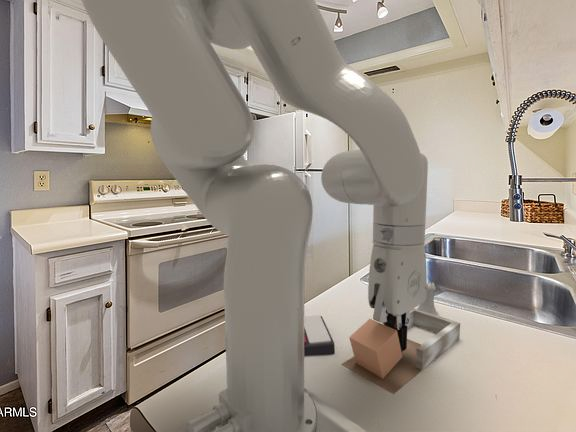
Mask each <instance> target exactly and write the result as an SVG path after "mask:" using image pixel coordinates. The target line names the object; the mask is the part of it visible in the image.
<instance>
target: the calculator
mask: <svg viewBox="0 0 576 432" xmlns="http://www.w3.org/2000/svg"><path fill="white" fill-rule="evenodd" d="M335 353H336V352H335V342H334V340H333V337H332V335H331V333H330V331H329V328H328V326H327V324H326V322H325V320H324V318H323V316H322V315H320V314H317V315H304V357H307V356H309V357H310V356H325V355H326V356H327V355H335Z"/></svg>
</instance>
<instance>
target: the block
mask: <svg viewBox="0 0 576 432" xmlns="http://www.w3.org/2000/svg"><path fill="white" fill-rule="evenodd" d="M348 338H349V342H350V346H351V349H352V353H353V357H355V361H356V363H357V364H359V365H361V366H362V367H364V368H366V369H367V370H369V371H371V372H372V373H374V374H376V375H377V376H379V377H381V378H382V379H383V378H384V377H385V376H386V375H387V374H388V372H389V371H390V370H391V369H392V368H393V367H394V366H395V365H396V363H397V362H398V361H399V360H400V359H401V358H402V352H401V347H400V343H399V338H398V333H397V330H395V329H392V328H390V327H388V326H386V325H383V323H381V322H378V321H376V320H374V319H373V318H368V320H366V321H365V322H364V323H363V324H362V325H361V326H360V327H359V328H357V330H356V331H354V332H353V334H351V335H350V336H349V337H348Z"/></svg>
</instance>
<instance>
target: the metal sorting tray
mask: <svg viewBox="0 0 576 432" xmlns="http://www.w3.org/2000/svg"><path fill="white" fill-rule="evenodd" d="M382 324H383V323H382ZM383 325H384V324H383ZM406 326H407V330H410V329H411V328H412V327H414V326H415V327H417V328H419V329H422V330H426V331H429V332H431V333H434V334H435V335H433V336H432V337H430V338H429V339H427V340H426V341H425V342H423V343H419V342H416V341H414V340H411V339H409V338H407V348H406V350H404V351H403V352H402V358H401V359H400V360H399V361H398V362H397V363H396V365H395V366H394V367H393V368H392V369H391V370H390V371H389V372H388V374H387V375H386V376H385V377H384V378H383V379H382V378H381V377H379V376H377V375H376V374H374V373H372V372H371V371H369V370H367V369H366V368H364V367H362V366H361V365H359V364H357V363H356V361H355V357H354V356H352V357H351V358H349V359H347V360H346V361H344V362H342V363H341V364H340V365H342V366H343V367H344V368H347V369H348V370H350V371H352V372H354V373H355V374H357V375H359V376H361V377H362V378H364V379H366V380H368V381H369V382H371V383H373V384H375V385H376V386H378V387H381V388H382V389H384V390H385V391H388V392H390V393H391V394H392V395H394V394H396V393H398V391H399V390H400V389H402V388H403V387H404V386H405V385H406V384H407V383H409V382H410V381H412V379H414V378H415V377H416V376H417V375H419V374H420V373H421V372H422V371H424V369H425V368H427V367H429V365H430V364H431V363H432V362H434V361H435V360H436V359H438V358H439V357H440V356H441V355H442V354H444V352H446V351H447V350H448V349H449V348H450V347H452V346H453V345H454V344H455V343H457V342H458V341H459V340H460V336H461V335H460V334H461V333H460V332H461V323H460V322H458V321H455V320H453V319H449V318H447V317H442V316H440V315H438V314H437V315H434V314H431V313H428V312H424V311H421V310H418V309H417V308H416V307H415V308H413V309H411V310H410V318H409V323H408V325H406Z"/></svg>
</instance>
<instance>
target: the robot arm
mask: <svg viewBox="0 0 576 432" xmlns="http://www.w3.org/2000/svg"><path fill="white" fill-rule="evenodd" d="M81 2H82V4H83V7H84V9H85V11H86V13H87V15H88V17H89V19H90V21H91V23H92V25H93V27H94V28H95V30H96V32H97V34H98V35H99V37H100V39H101V40H102V42H103V43H104V45H105V46H106V48H107V49H108V51H109V52H110V54H111V55H112V57H113V58H114V60H115V61H116V63H117V64H118V67H119V68H120V69H121V71H122V72H123V74H124V76H125V77H126V78H127V80H128V82H129V83H130V85H131V87H132V88H133V89H134V91H135V92H136V94H137V95H138V96H139V98H140V100H142V102H143V104H144V105H145V107H146V108H147V110H148V111H149V114H150V115H151V118H150V119H151V120H150V136H151V141H152V143H153V146H154V148H155V150H156V153H157V154H158V156H159V157H160V159H161V161H162V162H163V163H164V165H165V167H166V168H167V170H168V171H169V172H170V174H172V176H173V178H174V179H175V180H176V182H177V183H178V184H179V185H180V187H181V188H182V189H183V191H184V192H185V194H186V195H187V197H188V198H189V199H190V200H191V202H192V203H193V204H194V205H195V207H196V208H197V210H198V211H199V212H200V214H201V215H202V216H203V217H204V218H205V220H206V221H207V222H208V223H209V224H210V225H211V226H212V227H213V228H215V229H216V230H218V231H219V232H220V233H222V234H224V235H225V236H227V238H228V240H227V250H226V256H225V264H224V269H223V270H224V273H223V303H224V304H223V305H224V329H225V330H224V332H225V361H226V362H225V365H226V388H225V389H223V390H222V391H219V392H218V401H219V402H218V403H216V404H214V405H213V406H212V410H211V411H208V412H207V413H205V414H204V413H203V414H201V415H199V416H197V417H196V418H193V419H191V420H189V421H188V422H187V431H188V432H316V428H317V424H318V423H317V421H318V418H317V417H318V413H317V408H316V404H315V402H314V401H313V399H312V397H311V396H310V395H309V393H307V392H306V391H305V356H304V316H305V276H306V275H305V274H306V273H305V272H306V258H307V251H308V244H309V239H310V234H311V229H312V225H313V214H314V212H313V210H314V209H313V208H314V207H313V201H312V196H311V194H310V191H309V188H308V187H307V185H306V183H305V182H304V181H303V180H302V178H301V177H300V176H298V175H297V174H296V173H295V172H293V171H292V170H290V169H288V168H285V167H283V166H279V165H275V164H255V165H253V164H252V165H250V164H249V163H248V161H247V160H246V159H245V157H244V155H245V154H246V153H247V151H248V150H249V149H250V147H251V145H252V143H253V140H254V134H255V123H254V118H253V115H252V112H251V110H250V108H249V107H248V104H247V102H246V101H245V99H244V97H243V96H242V95H243V94H241V92H240V90H239V89H238V87H237V85H236V84H235V82H234V80H233V79H232V77H231V76H230V74H229V73H228V70H227V69H226V67H225V65H224V64H223V62H222V60H221V59H220V57H219V56H218V53H217V52H216V50H215V49H214V47H213V45H215V46H218V47H220V48H221V47H222V48H226V49H230V50H243V49H247V48H249V47H251V49H252V50H253V52H254V54H255V56H256V58H257V60H258V61H259V63H260V64H261V67H262V68H263V70H264V72H265V73H266V75H267V77H268V79H269V81H270V82H271V85H273V88H274V89H275V91H276V92H277V95H278V96H279V98H280V99H281V100H282V102H284V103H285V104H287V105H289V106H290V107H293V108H295V109H298V110H301V111H303V112H306V113H310V114H312V115H316V116H318V117H320V118H323V119H325V120H327V121H329V122H331V123H333V124H334V125H335V126H337V127H338V128H339V129H341V130H342V131H343V132H345V134H347V136H348V137H349V138H350V139H351V140H352V141H353V142H354V143H355V145H356V146H357V147H358V149H354V150H353V149H352V150H348V151H343V152H340V153H337V154H335V155H333V156H332V157H330V159H329V160H327V162H325V164H324V166H323V168H322V171H321V177H320V179H321V180H320V181H321V185H322V187H323V189H324V191H325V193H326V194H327V195H328V196H329V197H331V198H333V199H334V200H335V201H338V202H341V203H344V204H354V205H368V206H373V210H372V211H373V213H372V216H373V217H372V219H373V220H372V221H373V222H372V244H373V245H372V249H371V250H372V251H371V254H370V262H369V263H370V264H369V271H368V284H367V289H368V290H367V299H368V305H369V307H370V308H371V309H373V315H372V320H374V321H376V322H379V323H381V324H384V325H386V326H388V327H390V328H392V329H395V330H397V333H398V338H399V343H400V347H401V352H403V351H404V350H406V348H407V339H408V329H407V326H406V325H408V323H409V318H410V310H411V309H413V308H415V309H416V308H418V306H419V305H420V304H422V303H423V302H424V301H425V300H426V296H427V283H428V282H427V281H428V277H427V276H428V275H427V273H428V272H427V254H426V247H425V245H426V244H425V243H426V219H427V218H426V217H427V199H428V197H427V194H428V193H427V192H428V173H429V172H428V171H429V170H428V169H429V165H428V164H429V163H428V158H427V156H426V155H425V154H423V153H421V151H420V148H419V145H418V143H417V139H416V137H415V135H414V132H413V131H412V128H411V126H410V123H409V121H408V119H407V117H406V115H405V113H404V112H403V110H402V109H401V108H400V106H399V105H398V104H397V103H396V101H394V99H393V98H392V97H390V95H388V94H387V93H386V92H385V91H384V90H383V89H382V88H380V87H379V86H378V85H377V84H376V83H374V82H373V81H372V80H371V79H370V78H368V77H367V76H366V75H364V74H362V73H361V72H360V71H358V70H356V69H355V68H353V67H352V66H350V65H349V64H348V63H347V62H346V61H345V59H344V58H343V57H342V55H341V53H340V51H339V49H338V47H337V45H336V42H335V41H334V38H333V36H332V34H331V32H330V30H329V28H328V25H327V24H326V21H325V20H324V17H323V14H322V13H321V11H320V8H319V7H318V5H317V2H316V0H81ZM213 429H214V430H213ZM212 430H213V431H212Z"/></svg>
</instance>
